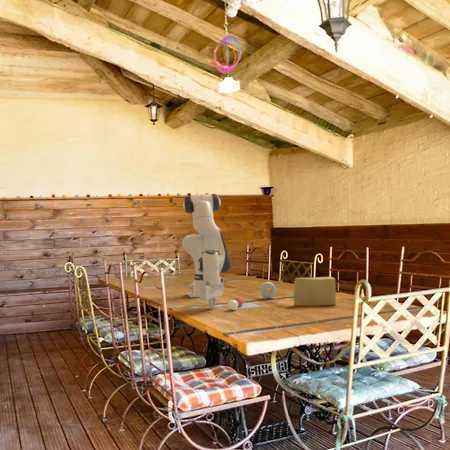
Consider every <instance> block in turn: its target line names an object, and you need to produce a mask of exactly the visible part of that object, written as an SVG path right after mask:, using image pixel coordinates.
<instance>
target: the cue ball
mask: <svg viewBox="0 0 450 450" xmlns="http://www.w3.org/2000/svg"><path fill="white" fill-rule="evenodd" d="M227 308H228V309H229V310H230V311H236V310H238V309H237V308H238V302H237V301H235V300H234V299H231V300H229V301H228V303H227Z"/></svg>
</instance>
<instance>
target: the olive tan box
mask: <svg viewBox="0 0 450 450" xmlns="http://www.w3.org/2000/svg"><path fill="white" fill-rule="evenodd" d="M336 292H337V291H336V278H335V277H332V276H320V277H319V276H317V277H296V278H294V285H293V305H294V306H336V303H337V301H336V300H337V299H336V298H337V296H336V295H337V293H336Z"/></svg>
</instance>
